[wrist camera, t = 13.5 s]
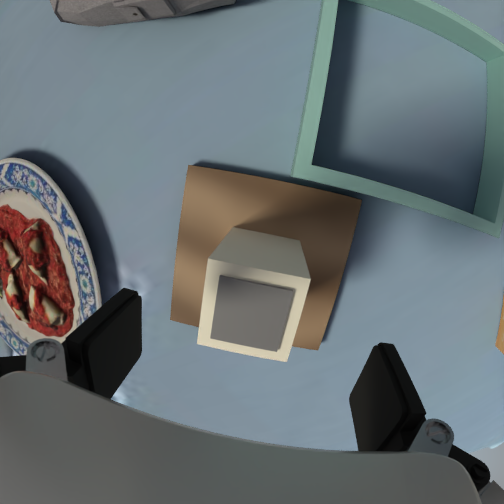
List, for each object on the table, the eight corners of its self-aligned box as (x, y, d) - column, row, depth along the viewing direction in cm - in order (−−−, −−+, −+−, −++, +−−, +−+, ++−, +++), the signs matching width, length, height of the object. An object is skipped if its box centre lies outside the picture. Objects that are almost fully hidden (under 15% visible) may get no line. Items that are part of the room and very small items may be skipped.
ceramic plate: (110, 149, 22) (90, 148, 19) (127, 388, 29) (116, 404, 26) (-28, 165, 24) (-44, 167, 21) (-4, 335, 31) (-16, 343, 28)
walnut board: (192, 165, 22) (188, 165, 21) (358, 198, 21) (362, 200, 20) (173, 314, 25) (170, 319, 24) (316, 344, 25) (318, 350, 24)
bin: (323, -14, 16) (329, -35, 13) (492, 59, 16) (512, 51, 12) (290, 176, 21) (292, 176, 18) (476, 229, 21) (499, 238, 17)
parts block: (232, 226, 22) (207, 259, 14) (299, 240, 22) (311, 280, 14) (222, 288, 23) (196, 345, 15) (284, 301, 23) (286, 364, 15)
